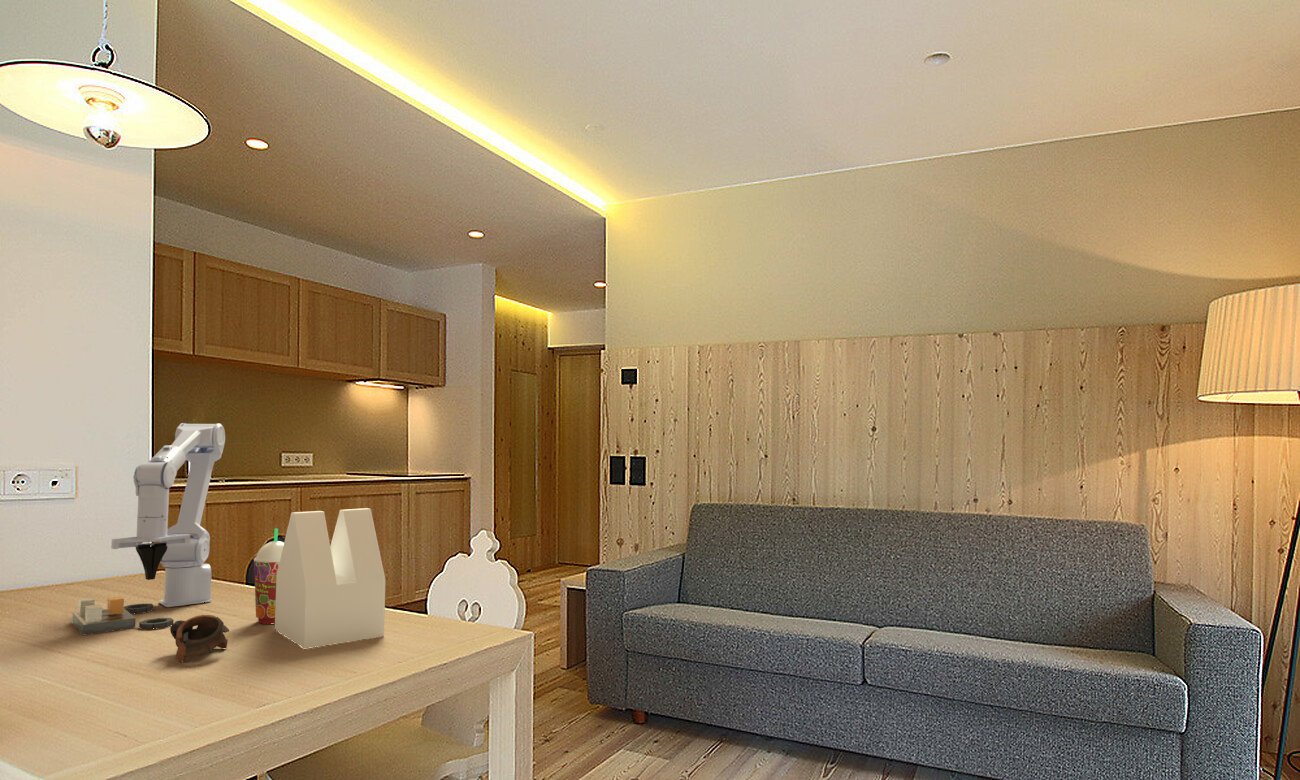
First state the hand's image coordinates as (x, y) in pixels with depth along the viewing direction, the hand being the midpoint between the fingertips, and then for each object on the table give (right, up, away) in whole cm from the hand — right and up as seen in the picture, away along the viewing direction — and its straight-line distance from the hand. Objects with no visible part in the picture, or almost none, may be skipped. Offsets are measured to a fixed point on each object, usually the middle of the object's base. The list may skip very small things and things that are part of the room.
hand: (150, 579), depth 171 cm
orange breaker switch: (-5, -6, -5) cm, 9 cm away
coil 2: (+6, -8, -7) cm, 12 cm away
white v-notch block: (+44, -9, -12) cm, 46 cm away
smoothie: (+28, -9, -2) cm, 29 cm away
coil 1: (-7, -9, +7) cm, 14 cm away
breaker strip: (-6, -8, -6) cm, 12 cm away
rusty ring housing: (+27, -8, -28) cm, 39 cm away
